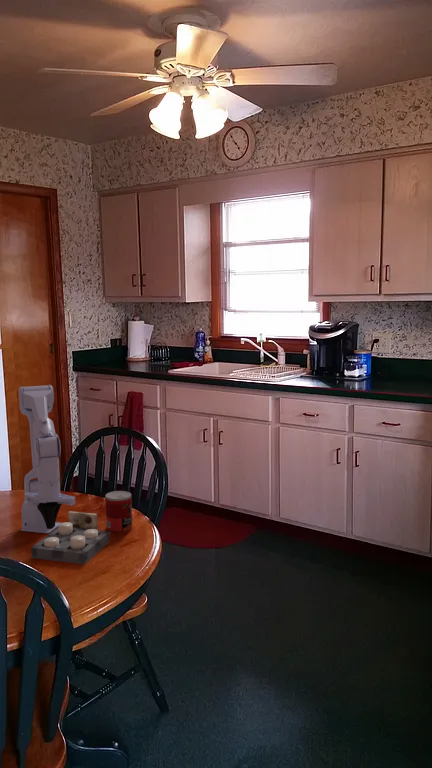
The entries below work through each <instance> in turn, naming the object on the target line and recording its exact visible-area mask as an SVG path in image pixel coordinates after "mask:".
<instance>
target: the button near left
mask: <svg viewBox="0 0 432 768" xmlns="http://www.w3.org/2000/svg"><path fill="white" fill-rule="evenodd" d="M58 545H59V538H57V537H49V538H46V539H45V540H44V546H46V547H56V546H58Z"/></svg>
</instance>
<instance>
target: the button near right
mask: <svg viewBox="0 0 432 768" xmlns="http://www.w3.org/2000/svg"><path fill="white" fill-rule="evenodd" d="M70 547H71V549H73V550H83V549H84V548H85V537H84V536H81V535H77V536H73V537H71V538H70Z"/></svg>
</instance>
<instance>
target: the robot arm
mask: <svg viewBox="0 0 432 768" xmlns="http://www.w3.org/2000/svg"><path fill="white" fill-rule="evenodd" d="M54 396H55V393H54V387H53V386H52V384H48V385H47V384H46V385H34V386H30V385H29V386H20V387H19V388H18V402H19V403H18V404H19V411H20V413H21V414H22V415H24V416H26V417H27V420H28V422H29V434H30V435H29V436H30V448H31V463H32V469H31V470H30V471H28V472H27V473H26V474H25V476H24V478H23V481H24V484H23V487H24V494H23V498H24V499H23V503H22V505H21V526H22V527H21V529H20V532H21V531H22V532H28V533H30V532H31V533H37V534H38V533H39V534H48V535H49V534H50V533H51V532H53V531H54V530H56V529H57V528H58V525H59V524H61V523H62V522H57V518H58V515H59V512H60V509H61V507H62V505H68V506H74V505H76V496H72V495H68V494H64V493H61V483H60V482H61V481H60V478H61V477H60V458H59V457H61V451H62V450H61V449H62V448H61V446H62V445H61V440H60V437H59V435H58V433H56V430H55V425H54V421H53V420H52V419H50V418H49V413H51V412H52V409H53V408H54V407H53V406H54V403H55V402H54V401H55V397H54Z"/></svg>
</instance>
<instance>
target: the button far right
mask: <svg viewBox="0 0 432 768" xmlns="http://www.w3.org/2000/svg"><path fill="white" fill-rule="evenodd" d="M98 530H99V529H98ZM98 530H96V529H88V530H86V531H84V537H85V538H90V539H95V538H97V537H98Z"/></svg>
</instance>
